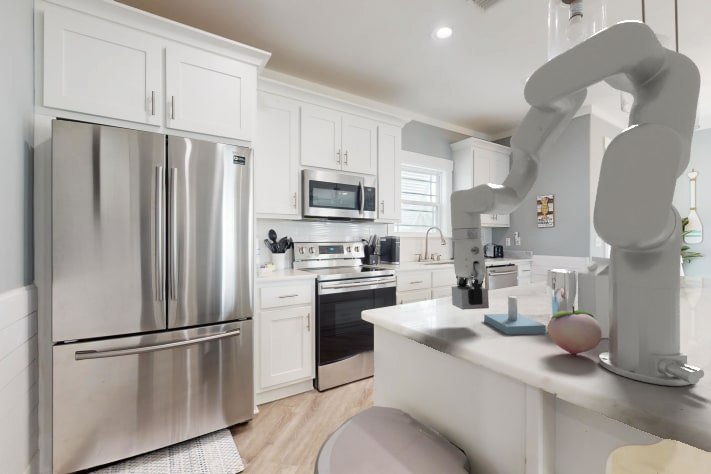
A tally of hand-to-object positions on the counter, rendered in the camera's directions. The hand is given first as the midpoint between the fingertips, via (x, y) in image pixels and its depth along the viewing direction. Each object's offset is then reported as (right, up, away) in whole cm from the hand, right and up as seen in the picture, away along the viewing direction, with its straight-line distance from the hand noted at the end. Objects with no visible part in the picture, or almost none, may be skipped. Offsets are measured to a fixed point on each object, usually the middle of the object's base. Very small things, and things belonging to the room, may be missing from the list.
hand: (469, 301), depth 85 cm
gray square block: (0, -1, 0) cm, 1 cm away
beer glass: (+25, -7, 0) cm, 26 cm away
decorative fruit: (+14, -7, -21) cm, 26 cm away
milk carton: (+30, -7, -7) cm, 32 cm away
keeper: (+12, -7, 0) cm, 13 cm away
